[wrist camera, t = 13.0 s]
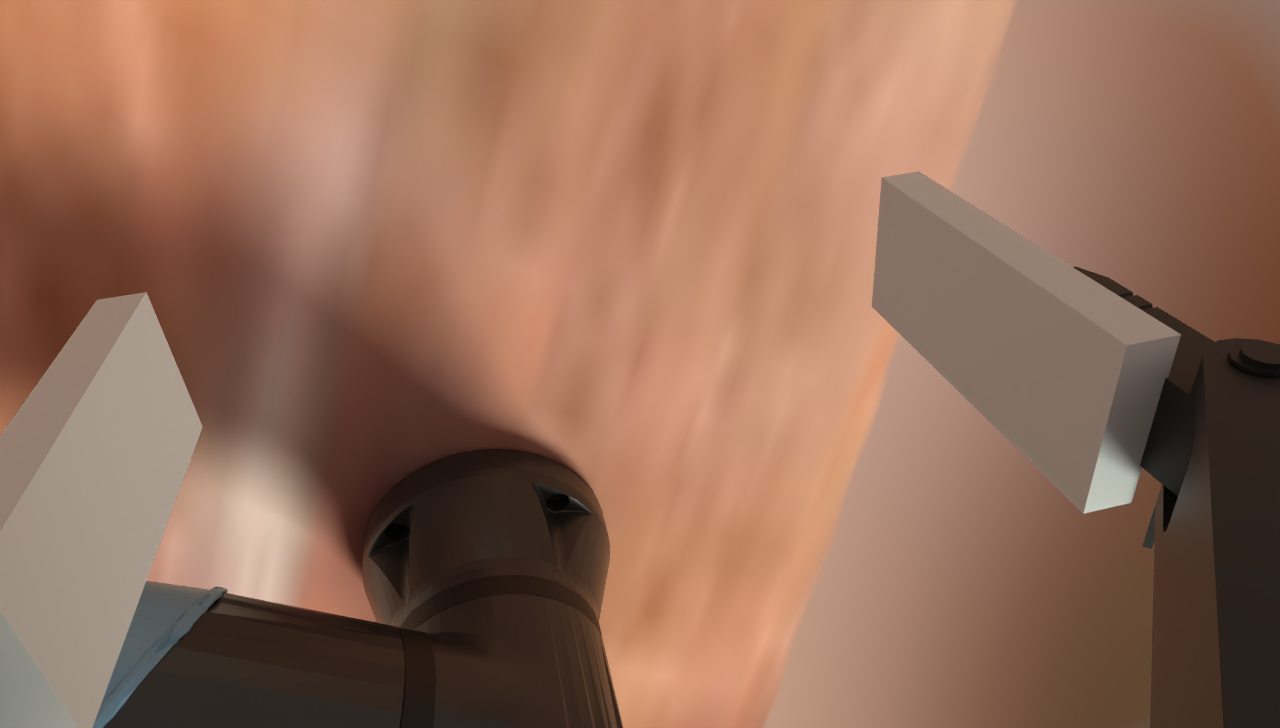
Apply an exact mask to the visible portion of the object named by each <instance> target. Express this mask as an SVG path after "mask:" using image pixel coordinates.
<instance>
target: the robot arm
mask: <svg viewBox="0 0 1280 728" xmlns="http://www.w3.org/2000/svg"><path fill="white" fill-rule="evenodd" d="M872 307H873V308H874V309H875V310H876V311H877V312H878V313H879V314H880V315H881V316H882V317H883V318H884V319H885V320H886V321H887V322H888V323H889V324H890V325H891V326H892V327H893V328H894V329H895V330H896V331H897V332H898V333H899V334H901V335H902V336H903V337H904V338H905V339H906V340H907V341H908V342H909V343H910V344H911V345H912V346H913V347H914V348H915V349H916V350H917V351H918V352H919V353H920V354H921V355H922V356H923V357H924V358H925V359H926V360H927V361H928V362H929V363H930V364H931V365H932V366H933V367H934V368H935V369H936V370H937V371H938V372H939V373H940V374H941V375H943V377H945V379H946V380H948V381H949V382H950V383H951V384H952V385H953V386H954V387H955V388H956V389H957V390H958V391H959V392H960V393H961V394H962V395H963V396H964V397H965V398H966V399H967V400H968V401H969V402H970V403H971V404H972V405H973V406H974V407H975V408H976V409H977V410H978V411H979V412H980V413H981V414H982V415H983V416H984V417H985V418H986V419H987V420H988V421H989V422H990V423H992V424H993V426H995V427H996V428H997V429H998V430H999V431H1000V432H1001V433H1002V434H1003V435H1004V436H1005V437H1006V438H1007V439H1008V440H1009V441H1010V442H1011V443H1012V444H1013V445H1014V446H1015V447H1016V448H1017V449H1018V450H1019V451H1020V452H1021V453H1022V454H1023V455H1024V456H1025V457H1026V458H1027V459H1028V460H1029V461H1030V462H1031V463H1032V464H1033V465H1034V466H1036V468H1037V469H1038V470H1039V471H1040V472H1042V473H1043V474H1044V475H1045V476H1046V477H1047V478H1048V479H1049V480H1050V481H1051V482H1052V483H1053V484H1054V485H1055V486H1056V487H1057V488H1058V489H1059V490H1060V491H1061V492H1062V493H1063V494H1064V495H1065V496H1066V497H1067V498H1068V499H1069V500H1070V501H1071V502H1072V503H1073V504H1074V505H1075V506H1076V507H1077V508H1078V509H1079V510H1080V511H1081V512H1083V514H1084V513H1088V512H1092V511H1097V510H1101V509H1105V508H1110V507H1114V506H1119V505H1123V504H1127V503H1131V502H1132V499H1133V495H1134V492H1135V489H1136V486H1137V482H1138V479H1139V475H1140V472H1141V468H1144V469H1145V470H1146V471H1147V472H1149V473H1150V474H1151V475H1152V476H1153V477H1154V478H1156V479H1157V480H1158V481H1159V482H1161V483H1162V486H1161V489H1160V493H1159V496H1158V499H1157V502H1156V505H1155V509H1154V511H1153V515H1152V518H1151V521H1150V524H1149V528H1148V531H1147V534H1146V537H1145V540H1144V543H1143V547H1147V548H1152V546H1153V544H1154V546H1155V547H1154V585H1153V628H1152V629H1153V630H1152V671H1151V714H1150V717H1151V718H1150V728H1280V344H1275V343H1270V342H1266V341H1261V340H1253V339H1239V338H1235V339H1227V340H1219V341H1217V342H1214V341H1212V340H1211V339H1209V338H1207V337H1206V336H1204V335H1202V334H1201V333H1199V332H1198V331H1196V330H1194V329H1192V328H1191V327H1189V326H1187V325H1186V324H1184V323H1182V322H1181V321H1179V320H1178V319H1176V318H1174V317H1173V316H1171V315H1169V314H1168V313H1166V312H1164V311H1163V310H1161V309H1159V308H1158V307H1156V308H1153V307H1152V304H1151V303H1149V302H1148V301H1146V300H1144V299H1143V298H1141V297H1139V296H1138V295H1136V296H1133V292H1131V291H1130V290H1128V289H1126V288H1125V287H1123V286H1121V285H1120V284H1118V283H1116V282H1115V281H1113V280H1111V279H1110V278H1108V277H1105V276H1102V275H1099V274H1096V273H1093V272H1090V271H1087V270H1084V269H1081V268H1078V267H1072V266H1070V265H1068V264H1066V263H1065V262H1063V261H1062V260H1060V259H1059V258H1057V257H1055V256H1054V255H1052V254H1051V253H1049V252H1047V251H1046V250H1044V249H1043V248H1041V247H1039V246H1038V245H1036V244H1035V243H1033V242H1031V241H1030V240H1028V239H1026V238H1025V237H1023V236H1022V235H1020V234H1018V233H1017V232H1015V231H1013V230H1012V229H1010V228H1009V227H1007V226H1005V225H1004V224H1002V223H1001V222H999V221H997V220H996V219H994V218H993V217H991V216H989V215H988V214H986V213H985V212H983V211H981V210H980V209H978V208H977V207H975V206H973V205H972V204H970V203H969V202H967V201H965V200H964V199H962V198H960V197H959V196H957V195H956V194H954V193H952V192H951V191H949V190H948V189H946V188H944V187H943V186H941V185H940V184H938V183H936V182H935V181H933V180H932V179H930V178H928V177H927V176H925V175H924V174H922V173H920V172H914V173H908V174H901V175H895V176H888V177H882V181H881V194H880V207H879V220H878V233H877V246H876V259H875V272H874V285H873V298H872ZM202 428H203V426H202V424H201V421H200V419H199V417H198V414H197V412H196V409H195V407H194V405H193V402H192V400H191V397H190V395H189V393H188V390H187V388H186V386H185V383H184V381H183V378H182V376H181V374H180V371H179V369H178V366H177V364H176V362H175V359H174V357H173V354H172V352H171V350H170V347H169V345H168V343H167V340H166V338H165V335H164V333H163V331H162V328H161V326H160V323H159V321H158V319H157V316H156V314H155V312H154V309H153V307H152V304H151V302H150V300H149V297H148V295H147V292H144V293H137V294H131V295H124V296H118V297H112V298H105V299H99V300H96V302H95V303H94V305H93V306H92V308H91V309H90V310H89V312H88V313H87V315H86V316H85V317H84V319H83V320H82V322H81V323H80V324H79V326H78V327H77V329H76V330H75V331H74V333H73V334H72V336H71V337H70V338H69V340H68V341H67V343H66V344H65V345H64V347H63V348H62V350H61V351H60V352H59V354H58V355H57V357H56V358H55V359H54V361H53V362H52V364H51V365H50V367H49V368H48V369H47V371H46V372H45V374H44V375H43V376H42V378H41V379H40V381H39V382H38V383H37V385H36V386H35V388H34V389H33V390H32V392H31V393H30V395H29V396H28V397H27V399H26V400H25V402H24V403H23V404H22V406H21V407H20V409H19V410H18V411H17V413H16V414H15V416H14V417H13V419H12V420H11V421H10V423H9V424H8V426H7V427H6V428H5V430H4V431H3V433H2V434H1V435H0V728H623V725H622V721H621V717H620V712H619V708H618V704H617V700H616V695H615V691H614V687H613V683H612V678H611V674H610V669H609V665H608V661H607V656H606V652H605V647H604V644H603V639H602V635H601V630H600V626H599V617H600V612H601V606H602V601H603V595H604V589H605V584H606V578H607V573H608V567H609V560H610V544H609V537H608V532H607V528H606V524H605V521H604V517H603V513H602V509H601V507H600V504H599V502H598V500H597V498H596V496H595V495H594V493H593V492H592V490H591V489H590V488H589V486H588V485H587V484H586V483H585V482H584V481H583V480H582V479H581V478H580V477H579V476H577V475H576V474H575V473H573V472H572V471H571V470H569V469H567V468H566V467H564V466H562V465H561V464H559V463H557V462H554V461H552V460H550V459H547V458H544V457H541V456H538V455H534V454H530V453H526V452H519V451H511V450H483V451H474V452H468V453H463V454H458V455H454V456H451V457H447V458H444V459H441V460H439V461H436V462H434V463H431V464H429V465H427V466H425V467H423V468H421V469H419V470H417V471H416V472H414V473H412V474H411V475H409V476H408V477H406V478H405V479H404V480H402V481H401V482H400V483H399V484H397V485H396V486H395V487H394V488H393V489H392V490H391V491H390V492H389V493H388V494H387V495H386V496H385V497H384V498H383V500H382V501H381V502H380V504H379V505H378V506H377V508H376V510H375V511H374V513H373V515H372V517H371V519H370V521H369V524H368V527H367V530H366V534H365V540H364V550H363V563H362V575H363V582H364V588H365V592H366V595H367V598H368V600H369V603H370V605H371V608H372V610H373V613H374V616H375V618H376V621H377V623H376V622H371V621H366V620H361V619H356V618H350V617H345V616H340V615H335V614H330V613H325V612H320V611H315V610H310V609H304V608H299V607H294V606H289V605H284V604H279V603H274V602H269V601H264V600H259V599H253V598H248V597H243V596H238V595H234V594H229V593H227V590H228V589H225V588H222V587H214V588H212V589H210V590H208V589H201V588H194V587H186V586H179V585H172V584H165V583H158V582H151V581H146V580H147V578H148V575H149V572H150V569H151V567H152V564H153V561H154V559H155V556H156V553H157V550H158V548H159V545H160V542H161V540H162V537H163V534H164V531H165V529H166V526H167V523H168V520H169V518H170V515H171V512H172V510H173V507H174V504H175V501H176V499H177V496H178V493H179V491H180V488H181V485H182V482H183V480H184V477H185V474H186V471H187V469H188V466H189V463H190V461H191V458H192V455H193V452H194V450H195V447H196V444H197V442H198V439H199V436H200V433H201V431H202Z"/></svg>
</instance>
